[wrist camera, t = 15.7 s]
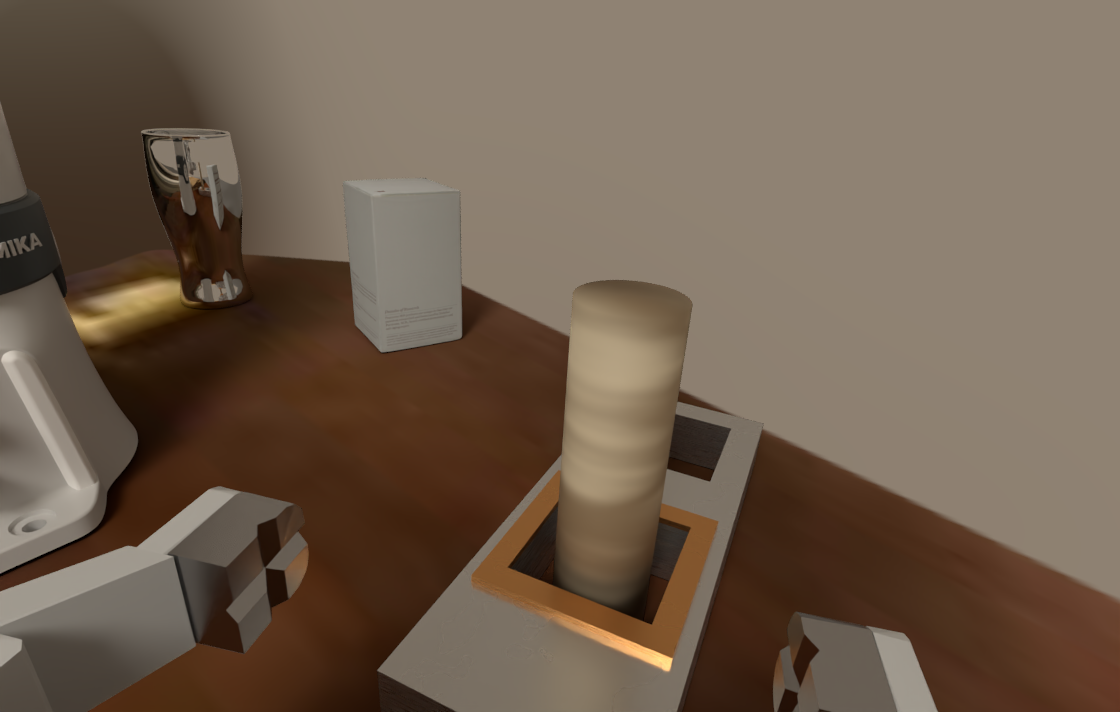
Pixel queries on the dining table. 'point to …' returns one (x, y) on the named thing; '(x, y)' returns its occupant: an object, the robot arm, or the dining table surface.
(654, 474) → the peg
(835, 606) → the dining table surface
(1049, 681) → the dining table surface
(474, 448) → the dining table surface
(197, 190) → the beer glass
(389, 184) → the supplement box
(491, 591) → the board
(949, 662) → the dining table surface
